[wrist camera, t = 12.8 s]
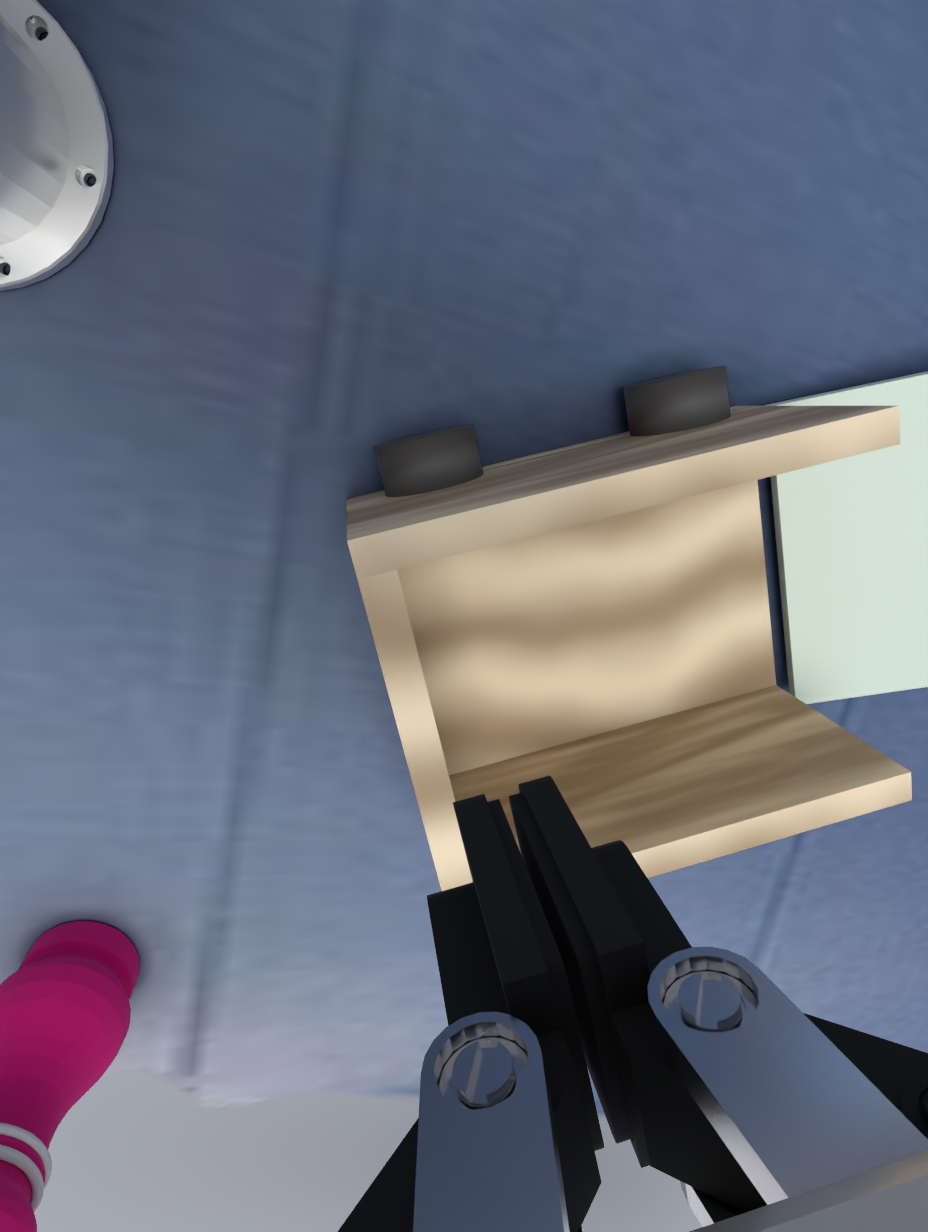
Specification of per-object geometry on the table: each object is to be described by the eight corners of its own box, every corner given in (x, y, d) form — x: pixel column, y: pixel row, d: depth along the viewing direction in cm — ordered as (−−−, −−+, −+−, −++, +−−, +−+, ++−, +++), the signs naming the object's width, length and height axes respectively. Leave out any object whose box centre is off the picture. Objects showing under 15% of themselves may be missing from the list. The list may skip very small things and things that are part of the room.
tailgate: (770, 406, 38) (1007, 357, 37) (761, 404, 40) (987, 357, 38) (796, 705, 44) (1004, 675, 42) (786, 692, 45) (986, 663, 44)
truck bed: (333, 453, 38) (329, 475, 26) (731, 360, 40) (897, 341, 28) (433, 826, 45) (465, 978, 33) (768, 731, 47) (913, 843, 35)
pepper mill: (161, 924, 44) (21, 1323, 25) (133, 1021, 45) (-19, 1468, 26) (32, 901, 42) (-227, 1311, 23) (7, 1003, 43) (-254, 1467, 24)
